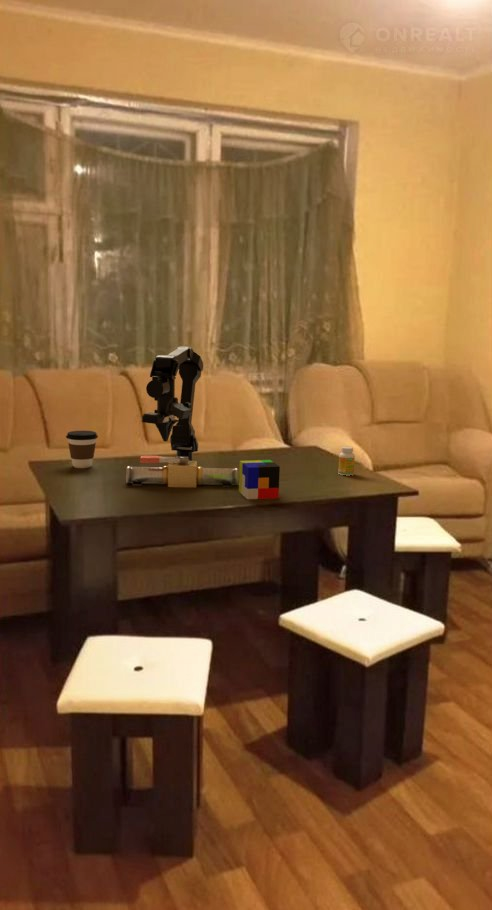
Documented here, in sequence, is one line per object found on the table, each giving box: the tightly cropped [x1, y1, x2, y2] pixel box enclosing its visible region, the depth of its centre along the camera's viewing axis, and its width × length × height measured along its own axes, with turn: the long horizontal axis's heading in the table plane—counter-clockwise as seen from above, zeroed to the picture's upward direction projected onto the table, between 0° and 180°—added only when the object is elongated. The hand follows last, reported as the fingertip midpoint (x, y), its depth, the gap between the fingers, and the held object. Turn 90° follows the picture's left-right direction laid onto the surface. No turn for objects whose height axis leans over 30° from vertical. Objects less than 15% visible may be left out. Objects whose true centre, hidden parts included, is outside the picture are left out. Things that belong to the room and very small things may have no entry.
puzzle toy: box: [238, 459, 281, 500], centre depth 247 cm, size 10×10×10 cm
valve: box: [125, 460, 239, 488], centre depth 258 cm, size 8×36×7 cm, turn 93°
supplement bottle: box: [337, 446, 356, 477], centre depth 279 cm, size 5×5×10 cm
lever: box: [140, 455, 188, 464], centre depth 256 cm, size 15×4×2 cm, turn 94°
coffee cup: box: [65, 430, 99, 469], centre depth 280 cm, size 11×11×12 cm
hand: (165, 441), depth 263 cm, fingers closed
